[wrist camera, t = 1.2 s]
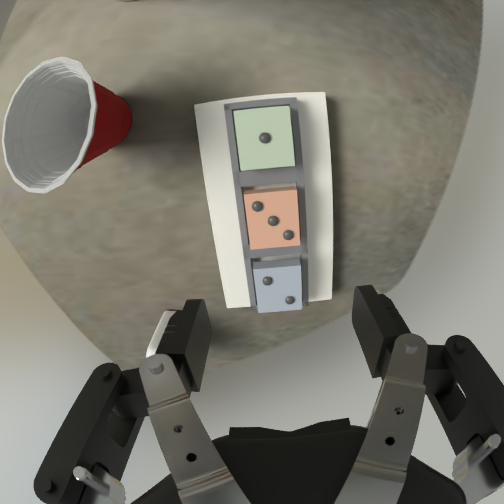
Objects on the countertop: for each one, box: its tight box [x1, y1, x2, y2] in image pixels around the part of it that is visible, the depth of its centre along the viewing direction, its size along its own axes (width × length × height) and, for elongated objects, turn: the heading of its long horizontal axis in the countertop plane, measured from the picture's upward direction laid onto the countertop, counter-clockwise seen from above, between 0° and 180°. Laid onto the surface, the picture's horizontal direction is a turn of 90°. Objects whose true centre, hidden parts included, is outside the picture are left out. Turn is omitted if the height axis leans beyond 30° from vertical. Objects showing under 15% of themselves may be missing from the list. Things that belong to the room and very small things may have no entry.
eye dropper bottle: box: [146, 311, 176, 358], centre depth 30 cm, size 4×6×12 cm
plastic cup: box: [2, 56, 132, 193], centre depth 19 cm, size 11×11×12 cm
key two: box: [253, 258, 302, 313], centre depth 27 cm, size 5×4×2 cm
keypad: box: [194, 92, 333, 310], centre depth 27 cm, size 22×12×4 cm, turn 6°
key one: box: [233, 106, 295, 171], centre depth 21 cm, size 5×4×2 cm
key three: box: [244, 186, 300, 250], centre depth 24 cm, size 5×4×2 cm
